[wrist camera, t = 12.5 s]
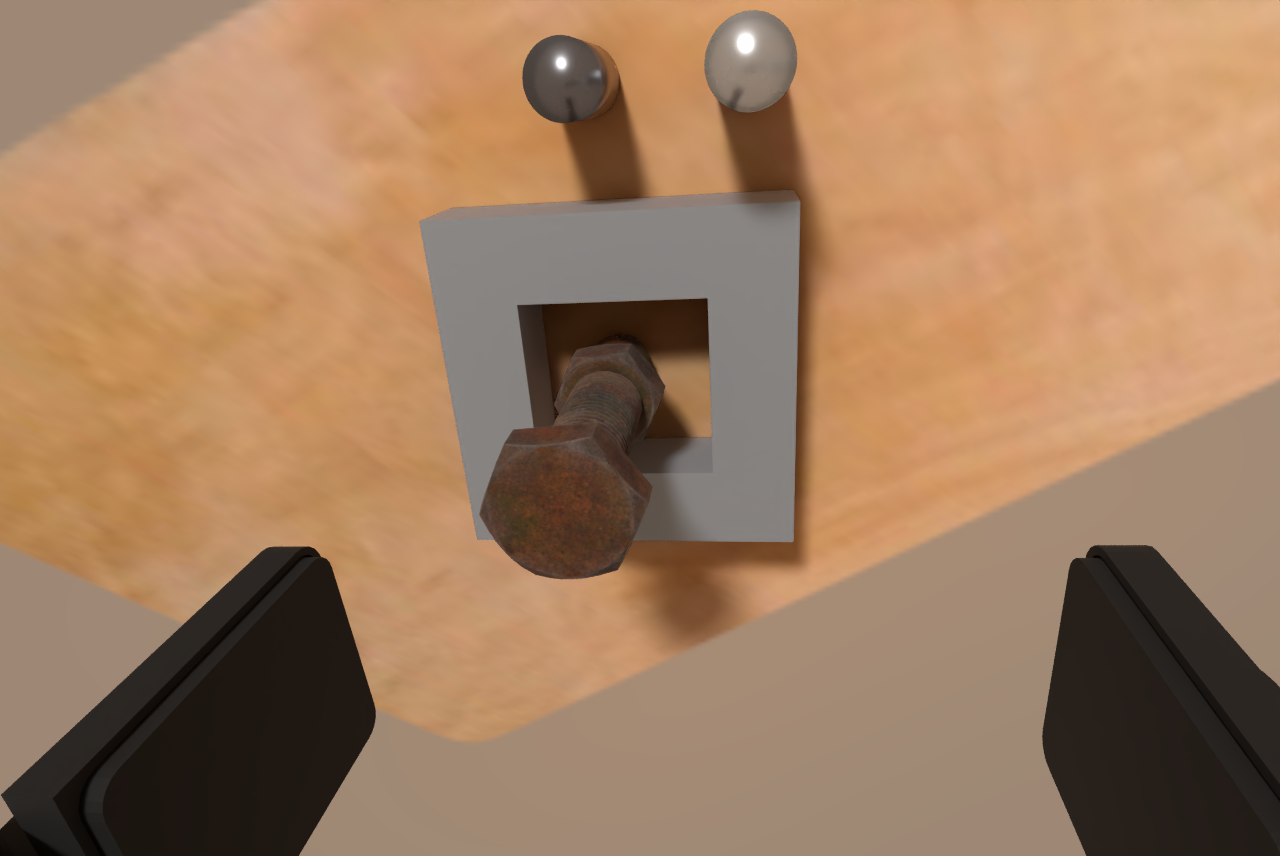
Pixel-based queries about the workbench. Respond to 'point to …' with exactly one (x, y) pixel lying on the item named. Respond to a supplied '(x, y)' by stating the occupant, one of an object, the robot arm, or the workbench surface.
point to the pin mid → (750, 61)
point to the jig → (633, 271)
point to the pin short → (570, 79)
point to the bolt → (578, 468)
